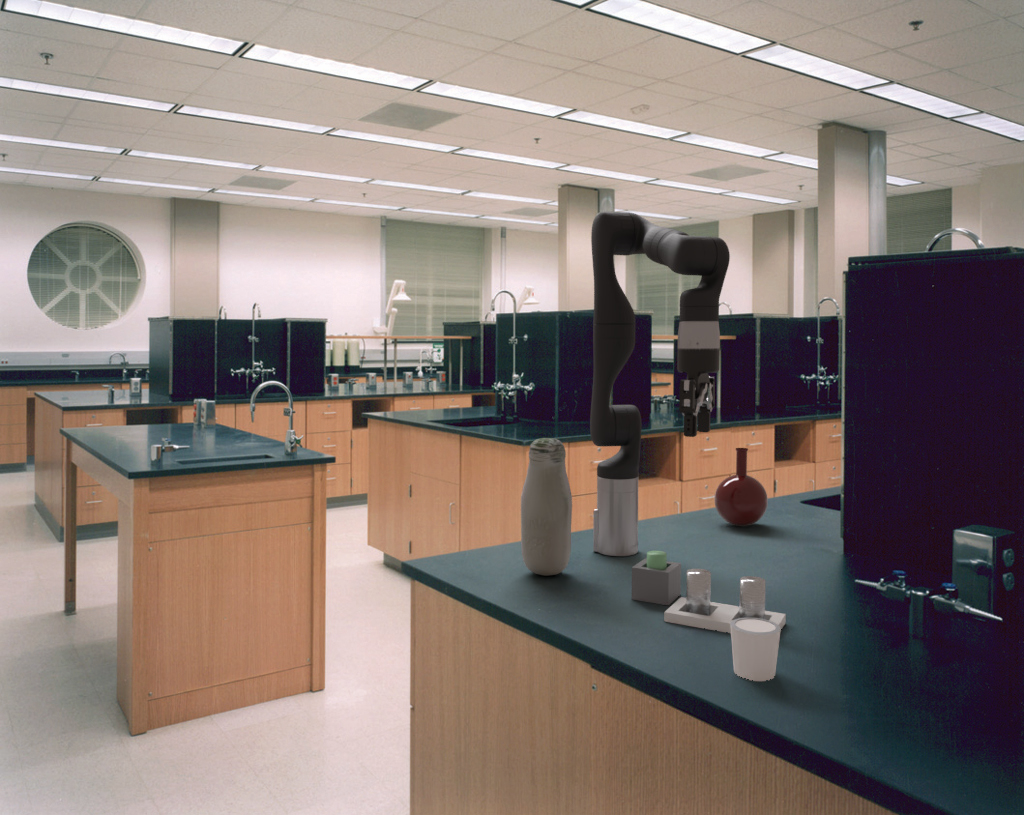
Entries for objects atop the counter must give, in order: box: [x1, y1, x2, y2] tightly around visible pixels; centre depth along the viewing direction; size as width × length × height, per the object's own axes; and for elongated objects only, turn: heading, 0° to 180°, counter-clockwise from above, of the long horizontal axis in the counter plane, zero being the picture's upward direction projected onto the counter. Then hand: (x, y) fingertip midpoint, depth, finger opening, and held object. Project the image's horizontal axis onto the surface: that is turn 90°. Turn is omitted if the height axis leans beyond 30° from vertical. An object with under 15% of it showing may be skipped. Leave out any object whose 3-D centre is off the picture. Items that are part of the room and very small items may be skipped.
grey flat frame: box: [663, 596, 787, 634], centre depth 131 cm, size 18×9×2 cm, turn 60°
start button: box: [646, 550, 668, 570], centre depth 144 cm, size 4×4×6 cm
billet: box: [685, 568, 712, 616], centre depth 133 cm, size 4×4×8 cm
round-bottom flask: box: [714, 447, 769, 527], centre depth 200 cm, size 13×13×20 cm
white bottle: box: [520, 437, 573, 577], centre depth 158 cm, size 10×10×28 cm
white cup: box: [730, 618, 782, 682], centre depth 111 cm, size 7×7×7 cm
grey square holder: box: [631, 557, 682, 606], centre depth 144 cm, size 7×7×6 cm
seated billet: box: [739, 575, 766, 619], centre depth 128 cm, size 4×4×8 cm
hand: (697, 434), depth 144 cm, fingers open, 8 cm apart
